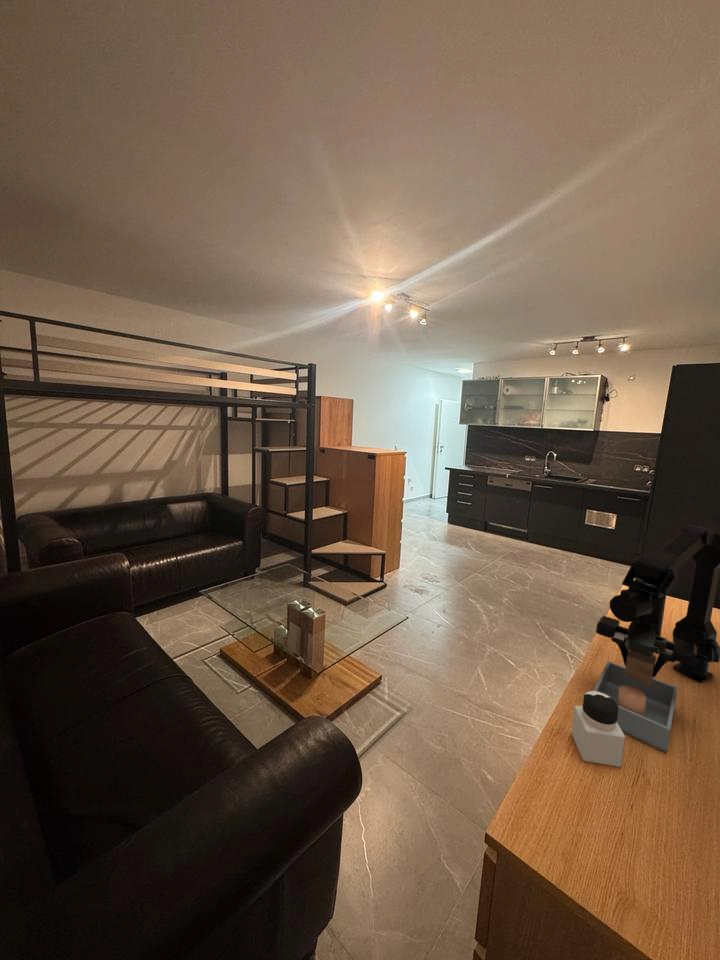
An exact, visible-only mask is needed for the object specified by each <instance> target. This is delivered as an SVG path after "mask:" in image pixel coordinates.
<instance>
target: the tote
mask: <svg viewBox="0 0 720 960" xmlns="http://www.w3.org/2000/svg"><path fill="white" fill-rule="evenodd" d="M625 670H626V666H622V665H620V664H618V663H614V662H612V661H607V662H606V664H605V666H604V668H603V670H602V672H601V674H600V676H599V679H598V680H597V683H596V684H595V687H594V688H593V690H592V691H597V692H601V693H604V694H606V695H608V696H609V697H611V698H612V699H613V700H614V701H615V702H616V703H618V694H619V687H620V686H623V685H627V686H632V687H635V688H637V689H639V690H640V691H642V692H643V693H644V694H645V695H646V705H645V714H644V716H641V715H639V714H637V713H634V712H632V711H630V710H628V709H625V708H623V707H621V706H619V705H618V707H619V710H618V718H617V723H618V725H619V727H620V728H621V730H622V732H623V733H624V735H627V736H629V737H632V738H633V739H636V740H638V741H640V742H642V743H644V744H646V745H648V746H651V747H652V748H655V749H657V750H659V751H661V752H663V753H664V754H667V752H668V746H669V742H670V735H671V731H672V724H673V719H674V712H675V707H676V701H677V694H678V686H675V685H672V684H670V683H666V682H664V681H662V680H659V679H656V678H655V677H653V678H652V682H651V685H649V684H647V683H644V682H642V681H639V680H636V679H634V678H631V677H629V676H626V675H625Z"/></svg>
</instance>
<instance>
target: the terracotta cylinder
mask: <svg viewBox="0 0 720 960" xmlns="http://www.w3.org/2000/svg"><path fill="white" fill-rule="evenodd" d="M617 705H619V706H621V707H623V708H625V709H628V710H630V711H632V712H634V713H637V714H639V715H641V716H644V714H645V705H646V695H645V694H644V693H643V692H642V691H640V690H639V689H637V688H635V687H632V686H627V685H623V686H620V687H619V694H618V703H617Z"/></svg>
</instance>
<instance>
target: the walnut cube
mask: <svg viewBox="0 0 720 960" xmlns="http://www.w3.org/2000/svg"><path fill="white" fill-rule="evenodd" d="M656 661H657V656H656V655H655V654H653V656H652V657H647V656H645V655H643V654H640V653H638V652H635V651H634V652H633V651H630V650H629V653H628V656H627V662H626V666H625V668H626V670H625V675H626V676H629V677H631V678H634V679H636V680H639V681H642V682H644V683H647V684H649V685H651V682H652V678H654V677H652V676H653V670H654V666H655V664H656Z"/></svg>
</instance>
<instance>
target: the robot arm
mask: <svg viewBox="0 0 720 960" xmlns="http://www.w3.org/2000/svg"><path fill="white" fill-rule="evenodd" d="M690 559H692V560H693V562H694V564H695V567H694V572H693V577H692V583H691V588H690V594H689V597H688V598H689V599H688V600H689V601H688V605H687V608H686V609H687V610H686V615H685V616H684V617H682V618H681V619H680V620H679V621H676V622H675V626H674V628H673V630H672V641H671V640H668V639H667V638H665V637H663V636H661V634H662V627H663V620H664V614H665V609H666V608H665V606H666V600H667V595H668V594H669V593H670V592H671V590H672V588H673V587H674V585H675V584H676V582H677V581H678V577H679V576H678V570H679V569H680V567H681V566H682V565H684V564H685V563H686V562H687V561H688V560H690ZM719 578H720V533H718V532H715V531H713V530H711V529H709V528H706V527H701V526H696V525H685V526H684V527H683V529H682V532H681V533H679V534H678V535H677V536H675V538H673V539H672V540H671V541H670V542H668V543H667V544H665V545H664V546H663V547H662V548H661V549H660V550H658V551H653V552H647V553H645V554H643V555H641V556H639V557H638V558H636V559H635V560H634V561H633V562H632V563H631V566H630V567H629V569H628V571H627V573H626V575H625V577H624V579H623V581H622V583H621V584H622V585H623V586H626V587H628V588H627V589H621V590H620V593H619V594H618V595H614V596H613V597H612V598H611V600H610V601H609V608H610V609H609V610H610V611H611V613H612V614H613V616H614V617H615V618H612V617H609V616H605V615H603V616H601V617H600V618H599V620H598V621H597V624H596V627H595V628H596V630H595V633H596V634H597V635H599V636H600V635H601V636H603V637H606V638H608V639H610V640H611V642H613V643H616V645H617V646H618V647H619V650H620V654H621V657H622V659H623V660H622V661H623V663H624V667H626V662H627V656H628V653H629V651H633V652H634V651H635V652H638V653H640V654H643V655H645V656H647V657H652V656H653V655H654V654H657V655H658V656H657V657H656V661H655V666H654V670H653V676H652V677H653V678H655V677H656V676H657V674H658V673H659V671H660V670H661V669H662V668H663V667H664V665H666V664H667V663H668V662H670V663H675V662H679V663H676V664H674V665H673V666H672V669H674V670H676V671H678V672H679V673H681V674H683V675H684V676H687V677H688V678H691V679H692V680H695V681H696V682H698V683H702V682H703V683H704V682H705V681H707V680H709V679H711V678H713V677H714V673H712V672H710V671H709V666H710V664H712V663H720V645H719V643H718V641H717V638H718V637H717V635H718V632H717V630H716V628H715V627H714V625H713V622H712V615H713V610H714V604H715V598H716V594H717V589H718V588H717V587H718V582H719ZM635 579H636V580H635ZM637 580H638V581H637ZM640 581H641V582H640ZM620 621H621V622H625V623H630V624H629V625H628V628H627V627H624V626H622V625H621V622H620Z"/></svg>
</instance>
